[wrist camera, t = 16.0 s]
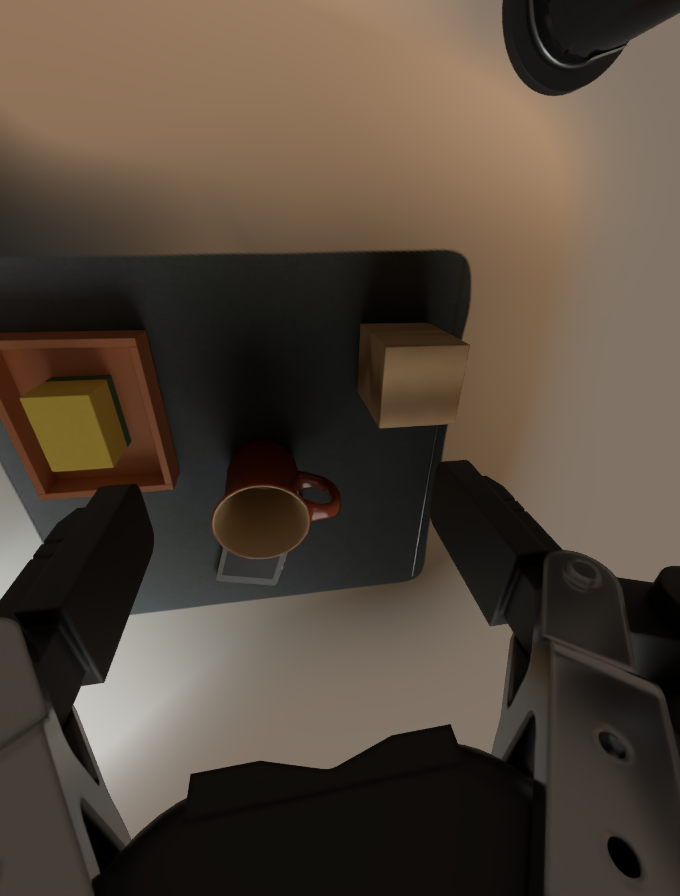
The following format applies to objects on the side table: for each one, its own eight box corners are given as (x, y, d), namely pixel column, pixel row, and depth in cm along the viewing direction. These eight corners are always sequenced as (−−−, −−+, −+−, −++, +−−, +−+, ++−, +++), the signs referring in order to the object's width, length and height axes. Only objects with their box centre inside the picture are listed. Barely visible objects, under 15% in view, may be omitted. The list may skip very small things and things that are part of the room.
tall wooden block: (360, 323, 35) (385, 346, 28) (427, 322, 37) (470, 344, 29) (357, 391, 39) (379, 428, 31) (419, 388, 40) (455, 423, 32)
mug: (228, 497, 43) (218, 564, 34) (218, 432, 38) (203, 488, 30) (328, 490, 45) (343, 551, 36) (330, 426, 40) (347, 478, 32)
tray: (-12, 332, 31) (-38, 341, 28) (145, 329, 32) (134, 337, 30) (56, 482, 38) (40, 500, 36) (180, 472, 40) (173, 489, 37)
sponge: (51, 376, 33) (18, 397, 28) (111, 374, 33) (88, 394, 29) (77, 444, 36) (52, 472, 32) (131, 441, 37) (113, 468, 33)
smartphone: (276, 582, 51) (276, 586, 50) (216, 577, 49) (215, 581, 48) (304, 498, 45) (305, 501, 44) (236, 487, 42) (236, 491, 42)
